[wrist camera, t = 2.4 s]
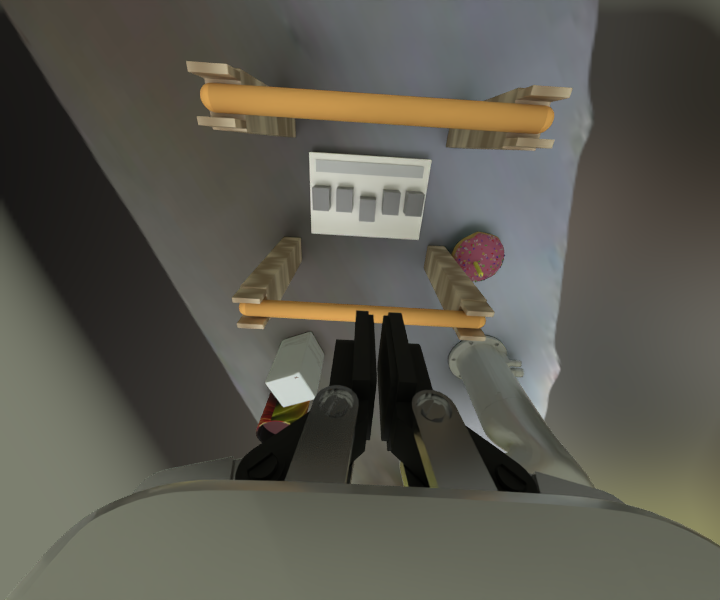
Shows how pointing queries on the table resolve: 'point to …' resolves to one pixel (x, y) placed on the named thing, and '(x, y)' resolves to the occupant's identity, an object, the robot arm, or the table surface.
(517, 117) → the orange rounded rod
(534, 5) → the table surface
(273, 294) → the wooden post rack
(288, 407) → the mug
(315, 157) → the breaker panel
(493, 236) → the cupcake
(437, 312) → the orange cylindrical bar
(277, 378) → the supplement box
